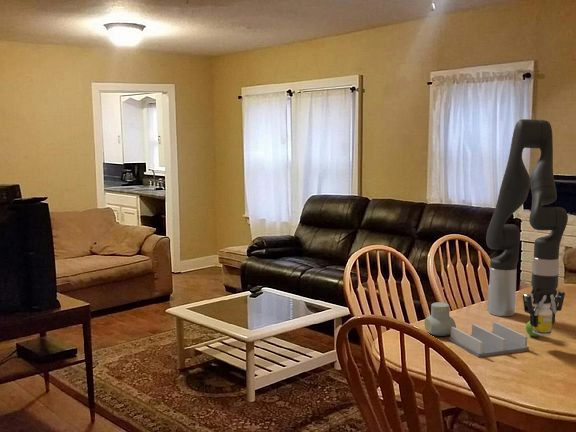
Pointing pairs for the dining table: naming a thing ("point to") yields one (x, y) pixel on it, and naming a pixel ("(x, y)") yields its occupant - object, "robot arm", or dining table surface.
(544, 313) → the supplement bottle
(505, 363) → the dining table surface
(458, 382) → the dining table surface
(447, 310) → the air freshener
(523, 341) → the gray divided storage rack
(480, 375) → the dining table surface
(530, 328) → the snail figurine
